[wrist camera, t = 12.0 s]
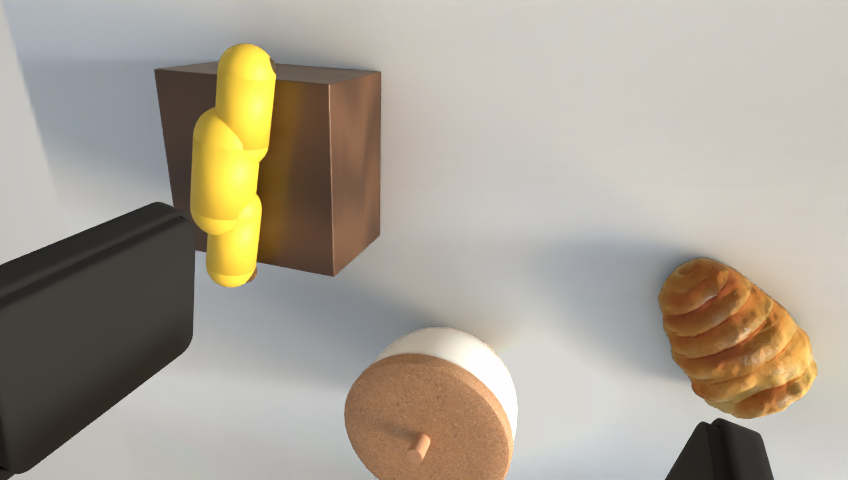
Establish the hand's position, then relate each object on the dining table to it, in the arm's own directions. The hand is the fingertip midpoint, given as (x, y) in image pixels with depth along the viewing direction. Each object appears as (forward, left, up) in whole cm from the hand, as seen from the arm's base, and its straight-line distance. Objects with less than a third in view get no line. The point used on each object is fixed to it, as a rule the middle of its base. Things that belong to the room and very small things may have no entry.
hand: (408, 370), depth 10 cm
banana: (+9, -15, -18) cm, 25 cm away
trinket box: (+19, +2, -26) cm, 32 cm away
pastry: (+7, +15, -26) cm, 30 cm away
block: (+9, -14, -26) cm, 31 cm away
